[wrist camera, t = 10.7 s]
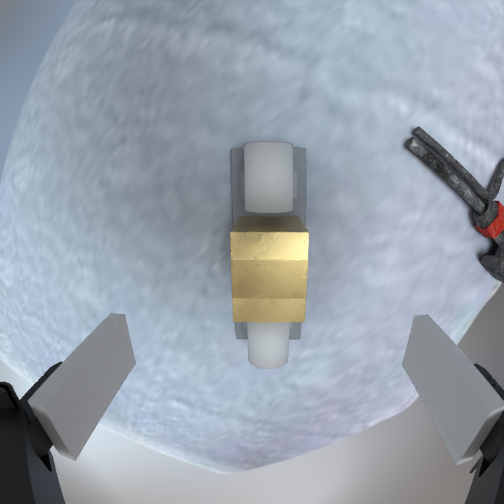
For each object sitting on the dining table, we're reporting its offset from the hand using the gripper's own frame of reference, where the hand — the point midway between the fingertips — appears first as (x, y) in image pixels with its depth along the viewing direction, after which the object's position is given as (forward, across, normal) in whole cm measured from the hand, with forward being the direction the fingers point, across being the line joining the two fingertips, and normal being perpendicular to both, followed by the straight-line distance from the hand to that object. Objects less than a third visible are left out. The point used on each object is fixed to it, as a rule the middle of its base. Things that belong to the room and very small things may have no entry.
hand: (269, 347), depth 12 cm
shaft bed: (+19, 0, 0) cm, 19 cm away
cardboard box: (+18, 0, 0) cm, 18 cm away
